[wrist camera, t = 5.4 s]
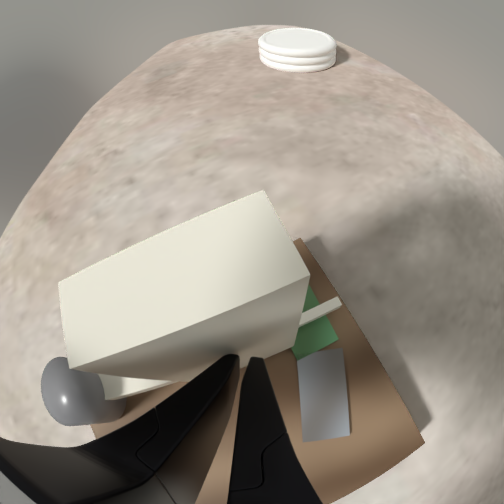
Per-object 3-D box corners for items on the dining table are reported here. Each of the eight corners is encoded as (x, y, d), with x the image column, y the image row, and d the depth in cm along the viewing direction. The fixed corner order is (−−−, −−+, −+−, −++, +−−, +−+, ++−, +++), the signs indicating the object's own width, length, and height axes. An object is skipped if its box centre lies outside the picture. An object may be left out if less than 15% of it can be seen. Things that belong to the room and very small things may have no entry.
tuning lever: (89, 426, 12) (-50, 422, 3) (75, 372, 14) (-58, 333, 5) (352, 334, 13) (453, 245, 5) (321, 276, 15) (359, 129, 6)
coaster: (245, 58, 31) (242, 37, 28) (300, 42, 33) (300, 23, 30) (293, 82, 27) (292, 56, 24) (351, 64, 29) (352, 42, 26)
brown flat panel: (414, 438, 12) (426, 443, 10) (169, 539, 10) (159, 549, 8) (299, 249, 18) (300, 236, 16) (81, 359, 16) (66, 355, 15)
